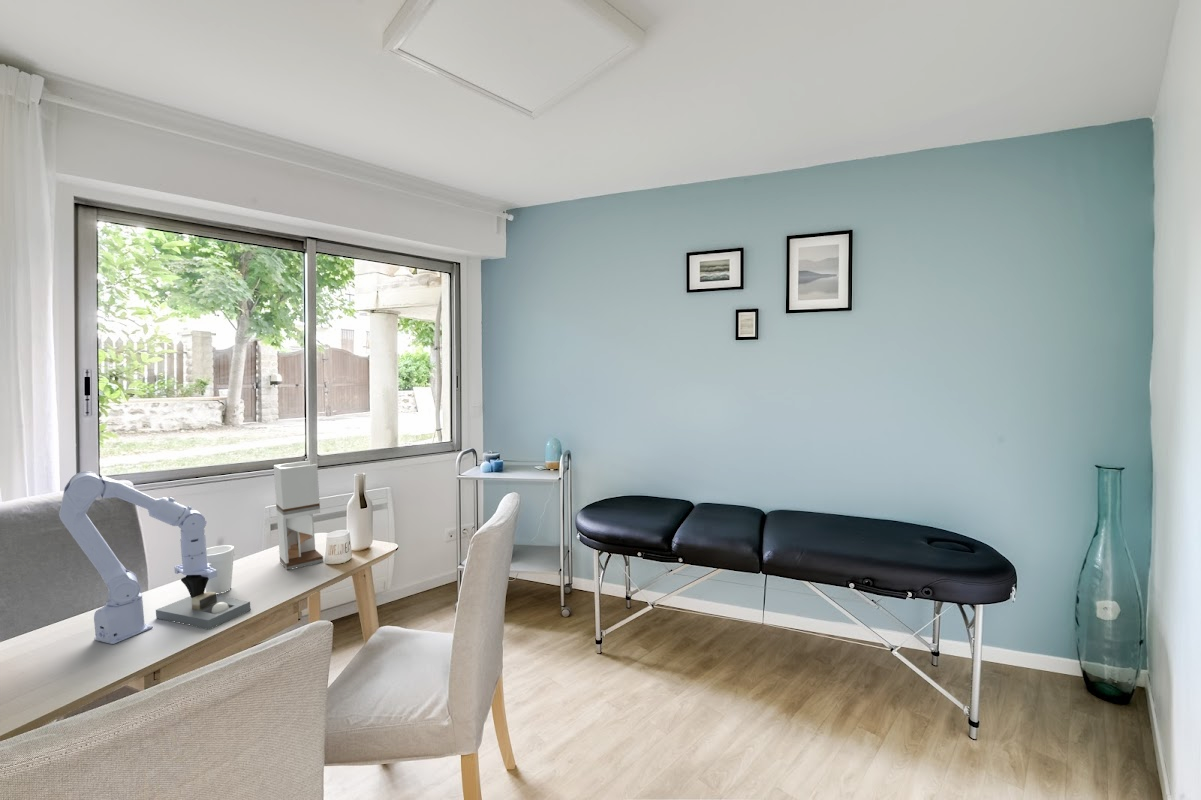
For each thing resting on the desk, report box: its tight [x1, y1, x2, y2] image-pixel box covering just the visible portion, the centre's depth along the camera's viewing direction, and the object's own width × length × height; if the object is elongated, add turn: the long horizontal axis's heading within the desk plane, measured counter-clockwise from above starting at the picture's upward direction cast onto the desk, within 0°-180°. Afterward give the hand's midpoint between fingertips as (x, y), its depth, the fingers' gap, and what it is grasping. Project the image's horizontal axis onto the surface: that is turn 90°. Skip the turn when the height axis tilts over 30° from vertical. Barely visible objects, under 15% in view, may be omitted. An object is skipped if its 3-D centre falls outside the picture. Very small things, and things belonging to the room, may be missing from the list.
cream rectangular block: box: [191, 591, 218, 610], centre depth 158 cm, size 5×3×3 cm
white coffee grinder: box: [273, 460, 324, 570], centre depth 197 cm, size 11×11×35 cm
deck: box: [155, 595, 251, 630], centre depth 158 cm, size 12×21×2 cm, turn 70°
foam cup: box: [205, 544, 235, 593], centre depth 174 cm, size 10×9×13 cm
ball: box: [212, 602, 229, 614], centre depth 156 cm, size 4×4×4 cm
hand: (197, 599), depth 159 cm, fingers closed
